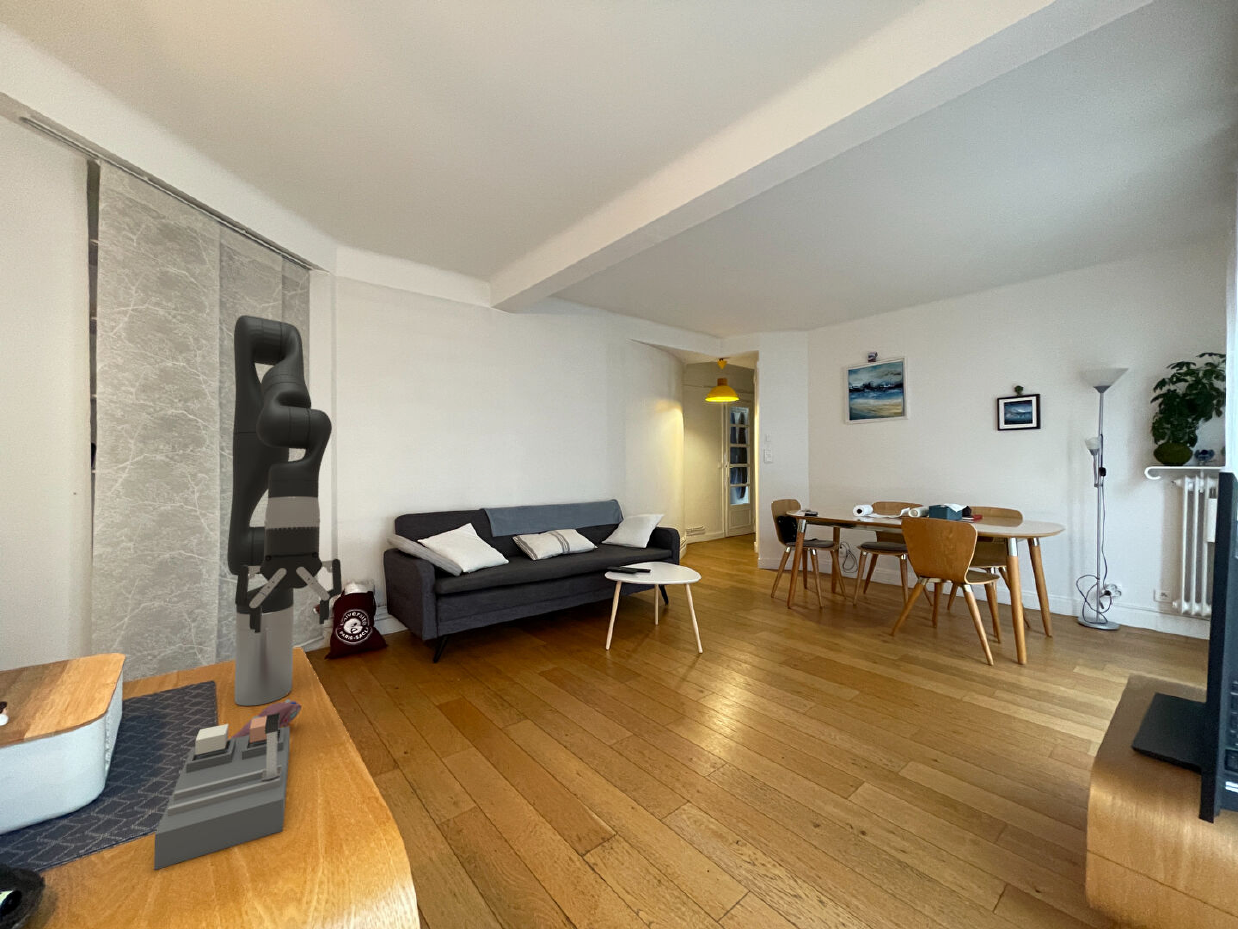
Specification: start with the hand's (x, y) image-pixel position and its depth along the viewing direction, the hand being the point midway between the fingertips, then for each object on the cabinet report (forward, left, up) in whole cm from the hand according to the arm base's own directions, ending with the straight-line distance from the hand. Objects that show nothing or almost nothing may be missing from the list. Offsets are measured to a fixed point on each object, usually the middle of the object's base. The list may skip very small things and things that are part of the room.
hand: (290, 628), depth 80 cm
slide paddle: (+16, -1, -15) cm, 22 cm away
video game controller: (-6, -3, -20) cm, 21 cm away
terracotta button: (+5, -3, -14) cm, 15 cm away
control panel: (+10, -6, -20) cm, 23 cm away
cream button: (+6, -9, -14) cm, 17 cm away
